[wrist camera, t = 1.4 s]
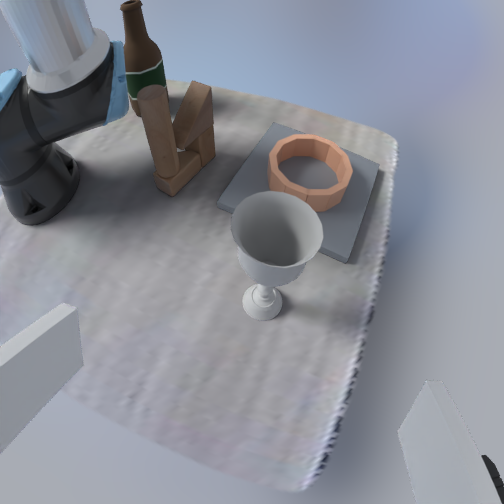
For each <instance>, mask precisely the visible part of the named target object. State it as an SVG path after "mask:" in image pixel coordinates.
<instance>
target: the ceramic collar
mask: <svg viewBox="0 0 504 504" xmlns="http://www.w3.org/2000/svg"><path fill="white" fill-rule="evenodd" d="M293 156H310V157H313V158H315V159H318V160H320V161H323V162H325V163H326V164H327V165H328V166H329V167H330V168H331V169H332V170H333V171H334V172H335V173H336V175H337V179H338V182H339V183H338V184H336V185H334V186H332V187H331V188H329V189H307V188H304V187H302V186H300V185H297V184H295V183H292V182H290V181H289V180H288V179H287V178H286V177H285V176H284V174H283V173H282V172H281V171H280V170H279V169H278V166H279V164H280V162H282V161H284V160H287V159H289V158H291V157H293ZM352 172H353V170H352V167H351V164H350V161H349V158H348V156H347V154H346V153H345V152H344V151H343V150H342V149H340V148H339V147H338V146H337V145H336V144H335V143H333V142H332V141H329V140H327V139H324V138H322V137H319V136H317V135H309V134H295V135H291V136H289V137H286V138H284V139H282V140H279V141H278V142H277V143H276V145H275V146H274V148H273V149H272V150H271V152H270V153H269V160H268V169H267V175H268V183H269V189H270V190H271V191H276V192H284V193H287V194H290V195H293V196H296V197H298V198H299V199H301V200H302V201H304V202H305V203H307V204H308V205H309V206H310V207H311V208H312V209H313V210H314V211H315V212H324V211H326V210H328V209H330V208H332V207H333V206H335V205H337V204H338V203H340V202H341V199H342V197H343V195H344V192H345V190H346V188H347V185H348V183H349V180H350V178H351V175H352Z"/></svg>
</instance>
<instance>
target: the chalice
mask: <svg viewBox="0 0 504 504" xmlns="http://www.w3.org/2000/svg"><path fill="white" fill-rule="evenodd" d="M231 231H232V234H233V237H234V240H235V242H236V243H237V245H238V259H239V262H240V265H241V267H242V268H243V270H244V271H245V272H246V274H247V275H248V276H249V277H250V278H251V279H253V280H254V281H255V282H257V283H258V284H254V285H253V286H251V287H249V288H248V289H247V290H246V292H245V293H244V296H243V307H244V310H245V311H246V313H247V314H248V315H249V316H251V317H252V318H254V319H256V320H261V321H266V320H270V319H272V318H274V317H275V316H277V315H278V313H279V312H280V310H281V308H282V297H281V294H280V293H279V291H278V290H277V289H276V288H275V287H277V286H282V285H285V284H288V283H290V282H292V281H293V280H295V279H297V278H298V276H299V275H300V274H301V273H302V271H303V269H304V267H305V265H306V262H307V261H308V260H310V259H312V258H313V256H314V255H315V254H316V253H317V252H318V250H319V249H320V247H321V243H322V240H323V229H322V224H321V222H320V220H319V218H318V216H317V213H316V212H315V211H314V210H313V209H312V208H311V207H310V206H309V205H308V204H307V203H305V202H304V201H302V200H301V199H299V198H298V197H296V196H293V195H290V194H287V193H284V192H276V191H266V192H260V193H256V194H253V195H251V196H249V197H247V198H245V199H244V200H243V201H242V202H241V203H240V204H239V205H238V206H237V207H236V209H235V211H234V213H233V215H232V217H231Z"/></svg>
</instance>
